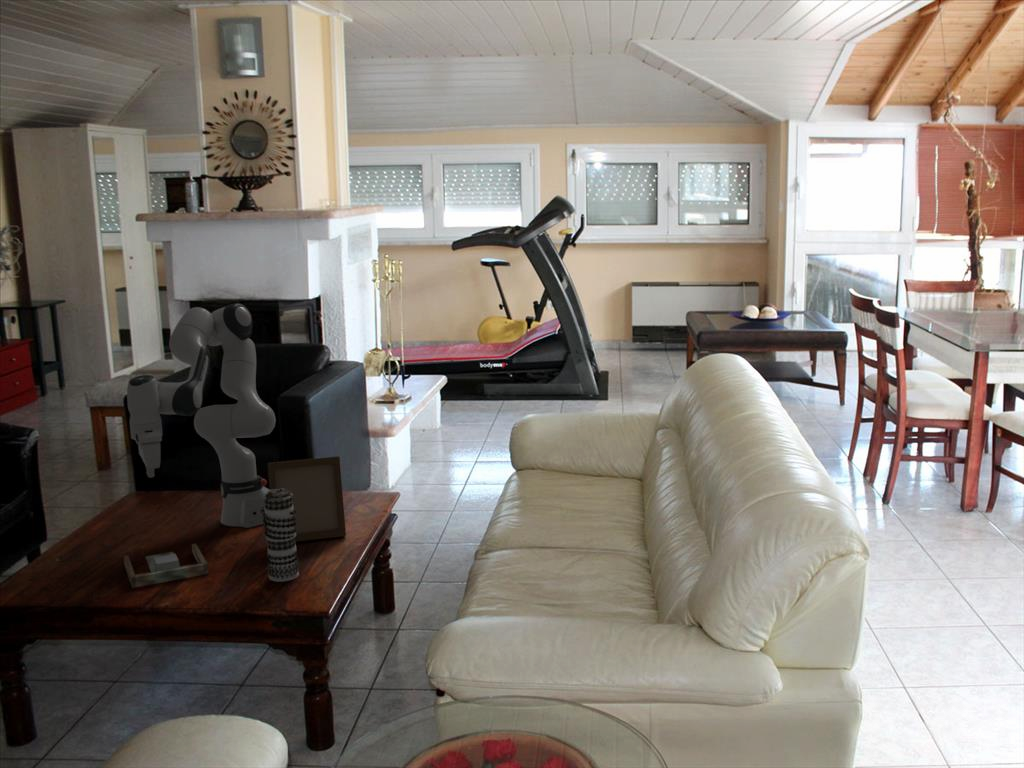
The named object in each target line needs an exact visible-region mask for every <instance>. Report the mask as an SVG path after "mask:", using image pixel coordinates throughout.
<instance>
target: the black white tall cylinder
mask: <svg viewBox="0 0 1024 768" xmlns="http://www.w3.org/2000/svg"><path fill="white" fill-rule="evenodd" d="M292 496H293V494H292V493H290V492H289V490H287V489H284V488H277V489H272V490H269V491H268V492H267V494H266V495H265V496H264V497H263V499H264V501H265V507H264V509H265V511H264V512H263V513H262V514H263V517H264V518H263V522H264V524H263V529H264V536H265V539H266V541H267V553H266V557H267V559H266V561H267V563H268V564H267V565H266V567H267V573H268V579H269V580H270V581H272V582H278V583H279V582H280V583H281V582H289V581H292V580H295V579H297V578H298V577H299V576H300V573H299V569H300V567H299V564H300V563H299V561H298V559H299V556H298V549H297V545H296V544H297V543H296V542H295V536H296V529H295V528H294V526H295V525H296V522H295V521H294V520H296V517H295V516H293V514H294V513H296V510H295V509H293V504H292ZM265 514H266V516H265ZM265 520H266V521H265Z"/></svg>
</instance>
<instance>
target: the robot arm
mask: <svg viewBox="0 0 1024 768" xmlns="http://www.w3.org/2000/svg"><path fill="white" fill-rule="evenodd" d="M252 333H253V316H252V313H251V311H250V310H249V308H247V307H246V305H244V304H242V303H232V304H228V305H226V306H223V307H221V308H218V309H216V310H213V311H212V312H210V311H209V310H207V309H206V308H203V307H198V306H197V307H196V306H195V307H192V308H190V309H188V310H186V312H185V313H184V314H183V315H182V316H181V318H180V319H179V320H178V322H177V323H176V326H175V327H174V329H173V331H172V333H171V335H170V338H169V341H168V345H169V350H170V352H171V353H172V355H173V356H174V357H175V358H176V359H177V360H179V361H180V362H182V363H184V364H187V365H190V370H189V372H188V378H187V379H186V380H184V381H181V382H169V381H166V382H165V381H164V382H163V381H159V380H156V377H154V375H149V374H141V375H139V376H135V377H132V378H130V380H128V383H127V388H126V389H127V390H126V393H127V394H126V399H127V401H126V402H127V409H128V413H129V430H130V438H131V440H134V441H135V443H136V445H137V447H138V448H137V449H138V455H139V456H140V458H141V460H142V462H143V464H144V465H145V469H146V475H147V477H148V478H151V479H152V478H154V477H155V469H160V467H161V442H162V441H163V437H162V436H163V435H164V434H163V424H162V423H163V422H162V417H161V415H178V416H184V417H185V416H186V417H192V416H193V415H194V418H193V427H194V430H195V432H196V434H197V435H199V436H200V437H201V438H203V439H205V440H206V441H207V442H208V443H209V444H210V445H211V446H212V447H213V449H214V450H215V453H216V454H217V456H218V460H219V465H220V471H221V472H220V473H221V480H220V492H221V497H222V510H221V516H220V517H221V518H220V521H219V522H220V524H222V525H224V526H227V527H241V528H246V529H249V528H253V527H257V526H262V525H265V524H264V522H263V518H264V517H263V514H262V513H263V512H264V511H265V509H264V507H265V501H264V499H263V497H264V496H265V495H266V494H267V492H268V491H269V488H268V487H266V486H267V484H268V481H267V480H266V479H265V478H263V477H261V476H260V475H258V474H257V463H256V456H255V455H256V454H255V453H254V452H253V451H252V450H250V449H249V448H248V447H245V446H243V445H241V444H240V443H239V442H238V441H237V439H243V438H245V439H246V438H258V437H263V436H267V435H270V434H271V432H273V430H274V428H275V427H276V421H277V419H276V415H275V412H274V410H273V409H272V407H270V405H268V404H266V403H265V402H264V401H263V400H262V399H261V398H260V396H259V394H258V391H257V382H256V381H257V380H256V378H257V376H256V375H257V352H256V345H255V343H254V341H253V340H252V339H251V338H250V337H251V336H252ZM219 346H221V347H222V350H223V356H222V361H221V363H222V364H221V374H220V385H219V386H220V389H221V391H222V392H223V393H224V394H225V395H226V396H228V397H229V398H232V399H234V400H237V402H236V403H233V404H213V405H208V406H204V407H202V406H203V405H202V404H203V400H204V399H203V398H204V389H205V386H206V382H207V377H208V374H209V369H210V365H211V353H210V350H209V349H213V348H217V347H219ZM265 516H266V514H265ZM265 521H266V520H265Z"/></svg>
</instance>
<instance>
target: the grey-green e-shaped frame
mask: <svg viewBox="0 0 1024 768" xmlns="http://www.w3.org/2000/svg"><path fill="white" fill-rule="evenodd" d="M191 550H192V555H193V557H194V559H195V560H196V563H190V564H186V565H182V566H180V564H179V568H175V569H169V570H164V571H158V572H155V566H154V557H158V556H164V555H170V554H175V553H174V551H170V552H164V553H157V554H152V555H147V556H145V560H146V562H147V566H148V568H149V570H150V571H148V572H141V573H136V574H135V571H134V568H133V566H132V563H131V560H130V556H129V555H124V556H123V562H124V567H125V570H126V573H127V574H126V575H127V577H128V579H129V584H130V586H131V589H135V588H140V587H141V588H142V587H145V586H150V585H151V586H152V585H156V584H160V583H162V584H163V583H166V582H173V581H177V580H182V579H188V578H194V577H199V576H203V575H208V574H209V567H208V562H207V561H206V559H205V557H204V555H203V554H202V552H201V550H200V548H199V546H198V545H197V543H191Z"/></svg>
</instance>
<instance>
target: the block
mask: <svg viewBox="0 0 1024 768" xmlns="http://www.w3.org/2000/svg"><path fill="white" fill-rule="evenodd" d="M177 556H178V555H177V554H176V553H174V554H170V555H164V556H158V557H154V566H155V572H158V571H164V570H169V569H175V568H179V565H180V561H179V558H178V557H177Z"/></svg>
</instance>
